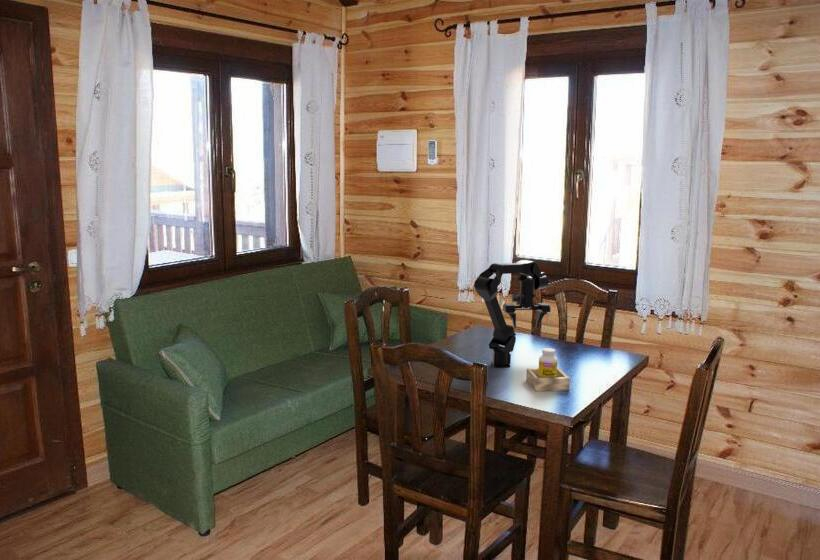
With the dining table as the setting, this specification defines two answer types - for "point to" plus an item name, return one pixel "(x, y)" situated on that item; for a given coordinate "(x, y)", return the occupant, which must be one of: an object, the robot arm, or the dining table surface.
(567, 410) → the dining table surface
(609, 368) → the dining table surface
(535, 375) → the birch box
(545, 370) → the supplement bottle
